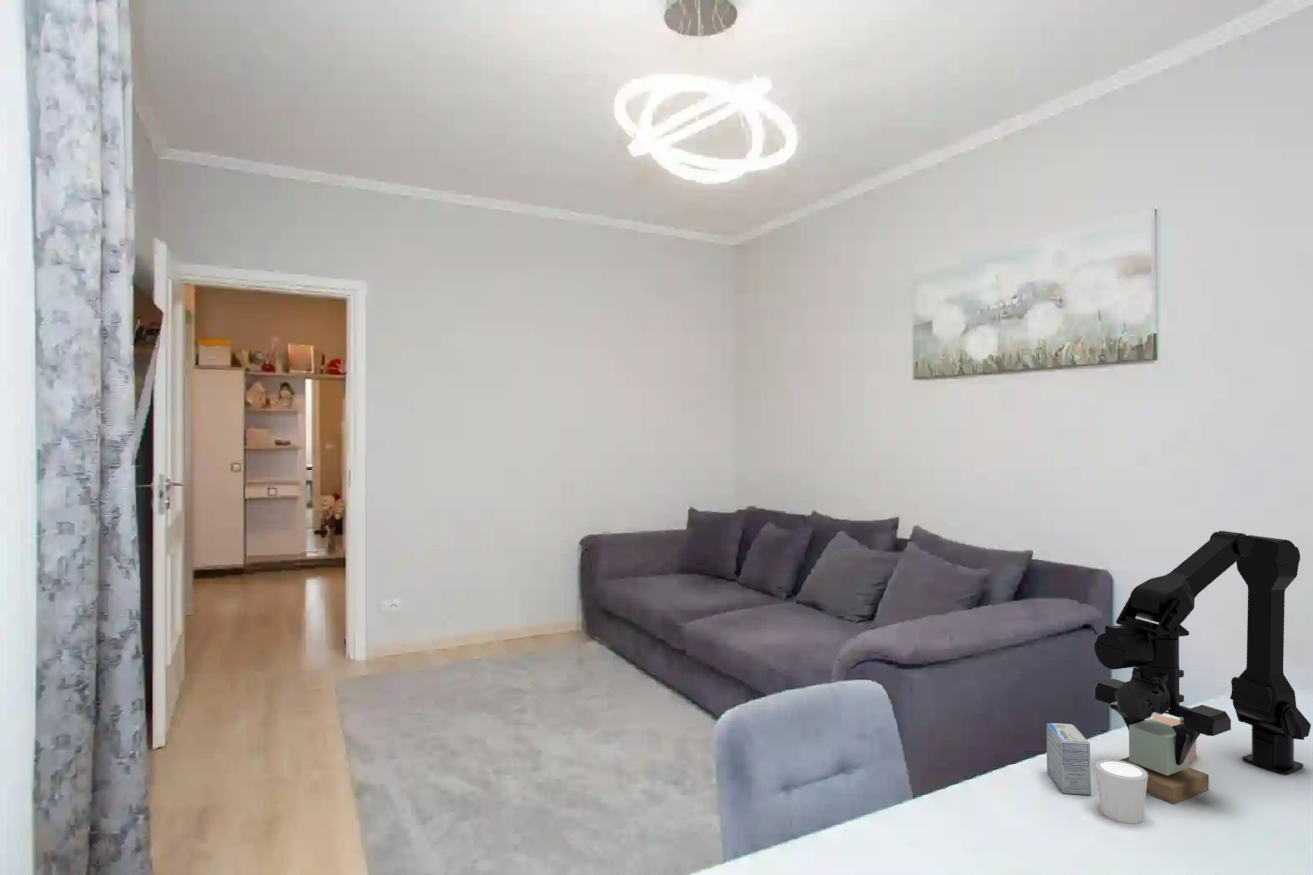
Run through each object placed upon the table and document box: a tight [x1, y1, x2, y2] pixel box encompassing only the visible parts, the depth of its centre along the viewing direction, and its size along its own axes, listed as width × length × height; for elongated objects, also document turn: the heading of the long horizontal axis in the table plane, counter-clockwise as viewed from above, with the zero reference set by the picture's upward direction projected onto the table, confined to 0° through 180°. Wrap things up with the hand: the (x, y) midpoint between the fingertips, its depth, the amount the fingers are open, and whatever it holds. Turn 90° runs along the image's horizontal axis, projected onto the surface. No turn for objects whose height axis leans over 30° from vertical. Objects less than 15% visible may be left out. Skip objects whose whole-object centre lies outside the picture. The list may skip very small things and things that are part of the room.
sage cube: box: [1128, 718, 1190, 776], centre depth 123 cm, size 6×6×6 cm
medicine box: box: [1046, 722, 1092, 796], centre depth 124 cm, size 8×4×9 cm, turn 168°
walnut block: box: [1119, 756, 1210, 805], centre depth 124 cm, size 10×10×2 cm
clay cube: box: [1151, 714, 1197, 765], centre depth 134 cm, size 6×6×6 cm
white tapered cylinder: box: [1095, 759, 1148, 825], centre depth 114 cm, size 7×7×7 cm
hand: (1158, 756), depth 124 cm, fingers closed on sage cube, 6 cm apart
